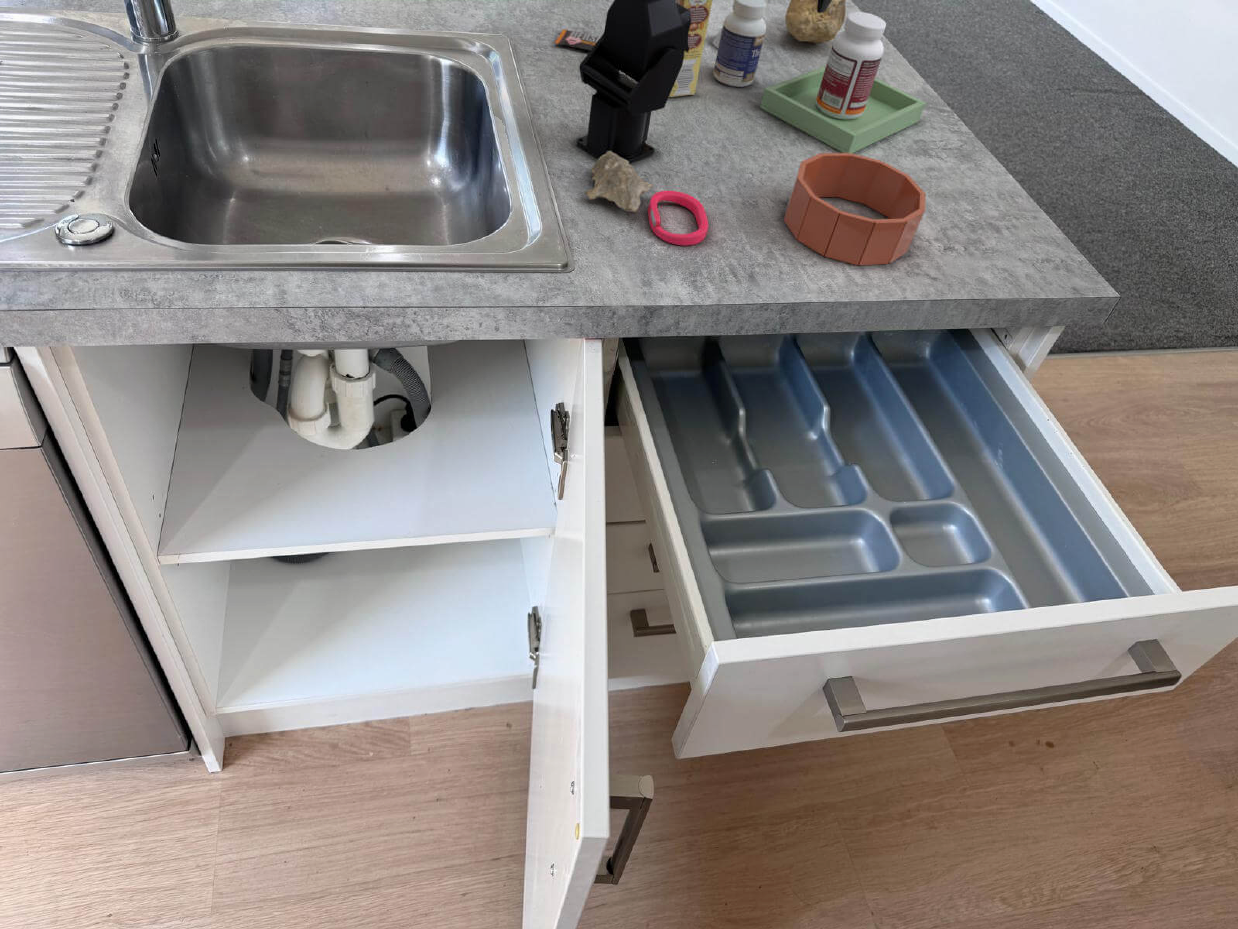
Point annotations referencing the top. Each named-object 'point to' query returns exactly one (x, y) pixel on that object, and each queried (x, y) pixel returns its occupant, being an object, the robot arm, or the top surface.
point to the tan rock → (814, 20)
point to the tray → (878, 120)
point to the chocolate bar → (577, 39)
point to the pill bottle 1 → (741, 43)
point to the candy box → (692, 46)
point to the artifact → (617, 182)
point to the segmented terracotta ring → (851, 232)
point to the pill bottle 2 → (852, 67)
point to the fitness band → (688, 203)
